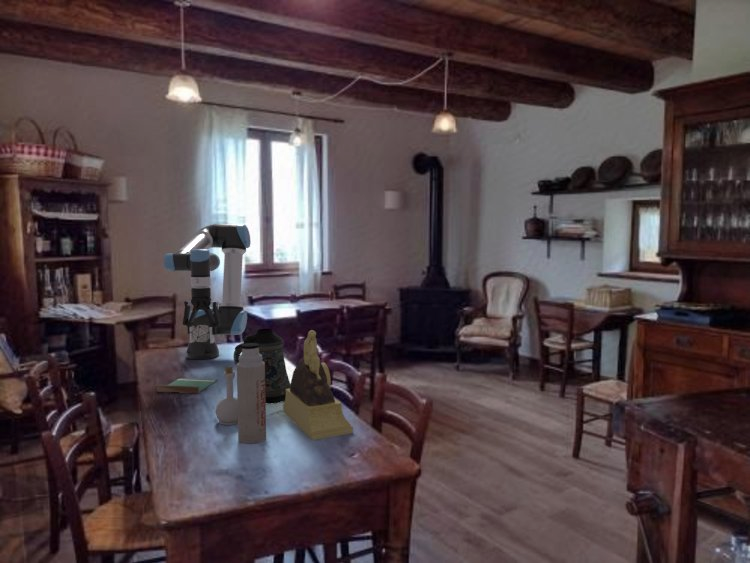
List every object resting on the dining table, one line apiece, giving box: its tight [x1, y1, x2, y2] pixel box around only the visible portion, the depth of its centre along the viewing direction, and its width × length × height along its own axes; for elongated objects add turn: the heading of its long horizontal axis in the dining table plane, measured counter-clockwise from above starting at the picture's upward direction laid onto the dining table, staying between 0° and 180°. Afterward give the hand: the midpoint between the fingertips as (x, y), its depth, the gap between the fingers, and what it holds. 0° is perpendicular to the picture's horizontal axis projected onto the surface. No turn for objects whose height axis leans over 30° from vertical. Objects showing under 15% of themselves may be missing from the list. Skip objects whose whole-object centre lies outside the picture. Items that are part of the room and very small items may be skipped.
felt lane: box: [168, 377, 218, 393], centre depth 217 cm, size 17×16×1 cm
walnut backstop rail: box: [156, 384, 200, 395], centre depth 208 cm, size 1×16×2 cm, turn 82°
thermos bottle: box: [236, 343, 267, 444], centre depth 161 cm, size 8×8×28 cm
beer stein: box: [233, 328, 291, 405], centre depth 200 cm, size 16×19×25 cm
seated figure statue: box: [282, 329, 354, 441], centre depth 175 cm, size 28×13×30 cm, turn 27°
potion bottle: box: [214, 366, 238, 426], centre depth 176 cm, size 9×9×18 cm
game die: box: [190, 323, 210, 343], centre depth 228 cm, size 9×8×10 cm
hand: (202, 342), depth 228 cm, fingers closed on game die, 8 cm apart
